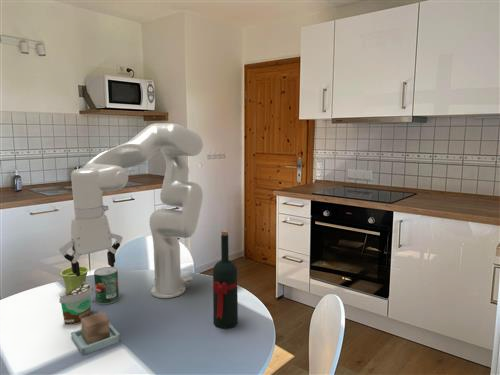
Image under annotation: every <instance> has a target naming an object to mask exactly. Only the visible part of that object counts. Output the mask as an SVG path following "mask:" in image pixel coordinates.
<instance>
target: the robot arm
mask: <svg viewBox="0 0 500 375" xmlns="http://www.w3.org/2000/svg"><path fill="white" fill-rule="evenodd" d="M203 147H204V144H203V139H202V137H201V135H200V134H198V132H195V131H193V130H191V129H189V128H187V127H185V126H183V125H181V124H178V123H172V122H170V123H169V122H168V123H166V122H165V123H163V122H161V123H159V122H157V123H155V122H154V123H151V124H149V125H147V126H146V127H144V128H143V129H142V130H141V131H140V132H138V133H137V134H136V135H134V136H133V137H132V138H131V139H130V140H129V141H127V142H125V143H122V144H120V145H117V146H115V147H113V148H110V149H107V150H106V151H103V152H101V153H99V154H97V155H96V156H95V157H93V158H92V159H91V160H89V161H88V162H87V163H85V165H84V166H83V167H81V168H77V169H73V170H72V172H71V174H70V178H71V180H70V181H71V188H72V191H71V192H72V200H73V210H74V217H73V218H72V219H71V222H70V223H71V225H70V227H71V228H70V241H68V242H67V243H66V244H64V245H63V246H61V247H60V248H58V251H59V253H61V255H62V257H63V258H65V260H68V261H69V262H70V264H71V265H70V266H71V267H72V272H73V273H74V274H75V275H76V276H79V275H80V269H79V267H80V262H79V259H80V257H81V256H82V255H88V254H93V253H96V252H101V251H104V250H107V254H106V255H107V264H108V266H109V267H115V263H116V253H117V250H118V249H119V247H120V246H121V243H122V240H123V236H122V235H119V234H117V233H116V234H115V233H113V232H112V231H111V228H110V224H109V219H108V217H107V214H105V212H106V211H109V210H110V209H109V206H108V205H104V201H103V193H104V192H116V191H120V190H122V189H123V188H125V186H126V185H127V184H128V181H129V174H128V172H127V170H126V169H128V168H133V167H138V166H141V165H143V164H146V162H147V161H149V160H150V159H151V158H152V157H154V156H155V154H157V153H158V152H161V154H162V156H163V158H164V161H165V164H166V166H165V167H166V168H165V172H164V173H165V174H164V177H163V182H162V186H161V188H160V189H161V190H160V194H159V195H160V196H159V197H160V201H161V204H164V205H166V206H169V207H175V208H177V207H178V208H182V210H179V209H171V208H170V209H169V208H158V209H156V210H154V211H153V212H152V213H151V215H150V216H149V220H148V221H149V229H150V231H151V232H150V233H151V237H152V243H153V246H152V247H153V263H154V264H153V266H154V286H153V287H151V290H150V294H151V295H152V296H153V297H155V298H159V299H171V298H177V297H178V296H180V295H183V294H184V293H185V292H186V286H185V284H186V283H191V282H192V281H193V276H191V275H190V276H187V275H183V276H182V274H181V273H182V272H181V271H182V270H181V247H180V246H181V245H180V241H179V239H178V238H180V239H181V238H182V239H186V238H187V239H188V238H191V237H192V236H194V234H195V233H196V230H197V227H198V223H199V218H200V213H201V208H202V204H203V199H204V195H203V189H202V187H201V185H200V184H198V183H197V182H193V181H188V179H189V173H190V169H189V165H188V162H187V161H186V159H185V157H195V156H199V155H200V153H201V152H202V150H203ZM112 239H114V240H115V242H114V243H113V241H112ZM69 249H71V250H72V251H73V252H72V253H71V254H70V253H68V250H69ZM186 276H187V277H186Z"/></svg>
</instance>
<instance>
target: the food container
mask: <svg viewBox="0 0 500 375" xmlns="http://www.w3.org/2000/svg"><path fill="white" fill-rule="evenodd" d="M93 293H94V291H93V287H92V285H91V283H89V282H88V281H86V282H84V281H83V284H82V285H81V286H79V287H78V288H75V289H73V290H72V291H70V292H69V293H68V294H67V293H66V294H65V295H59V301H58V303H59V304H61V312H62V316H63V321H64V325H76V324H79V323H80V324H81V318H84V317H87V316H90V315H91V310H92V308H91V305H92V304H91V299H92V297H91V295H92V294H93Z"/></svg>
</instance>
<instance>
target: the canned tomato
mask: <svg viewBox="0 0 500 375" xmlns="http://www.w3.org/2000/svg"><path fill="white" fill-rule="evenodd" d="M118 270H119V269H118V268H117V267H116V266H114V267H111V266H102V267H99V268H97V269H95V270H94V271H93V276H94V291H95V302H96V304H98V305H111V304H113V303H116V302H117V301H118V300H120V294H119V293H120V292H119V291H120V290H119V273H118Z"/></svg>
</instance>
